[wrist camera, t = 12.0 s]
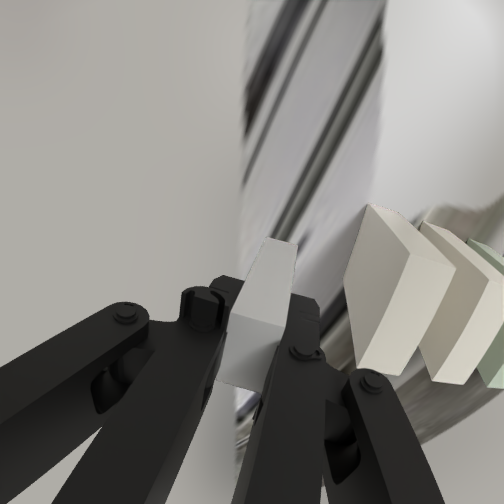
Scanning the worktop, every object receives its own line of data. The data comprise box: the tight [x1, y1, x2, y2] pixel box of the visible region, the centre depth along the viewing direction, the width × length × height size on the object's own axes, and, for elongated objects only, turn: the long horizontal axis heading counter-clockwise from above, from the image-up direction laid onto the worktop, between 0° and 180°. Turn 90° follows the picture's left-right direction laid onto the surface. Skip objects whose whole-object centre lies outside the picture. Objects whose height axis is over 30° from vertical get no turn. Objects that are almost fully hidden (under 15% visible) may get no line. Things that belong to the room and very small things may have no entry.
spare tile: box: [467, 238, 504, 388], centre depth 16 cm, size 6×2×10 cm, turn 168°
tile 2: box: [418, 221, 504, 385], centre depth 16 cm, size 6×2×10 cm, turn 168°
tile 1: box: [343, 203, 456, 376], centre depth 16 cm, size 6×2×10 cm, turn 168°
